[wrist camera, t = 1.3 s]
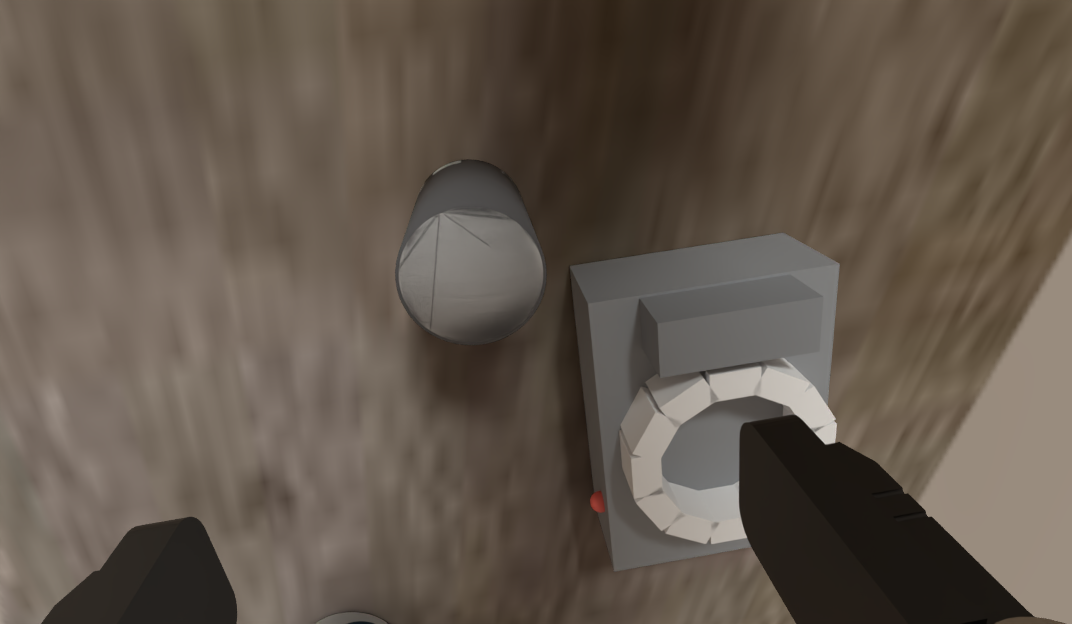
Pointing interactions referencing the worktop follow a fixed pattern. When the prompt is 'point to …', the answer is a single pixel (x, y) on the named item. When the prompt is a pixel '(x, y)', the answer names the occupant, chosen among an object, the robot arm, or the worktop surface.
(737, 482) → the camera body
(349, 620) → the lotion bottle
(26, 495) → the worktop surface
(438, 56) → the worktop surface
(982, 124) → the worktop surface
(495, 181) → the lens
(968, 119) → the worktop surface
